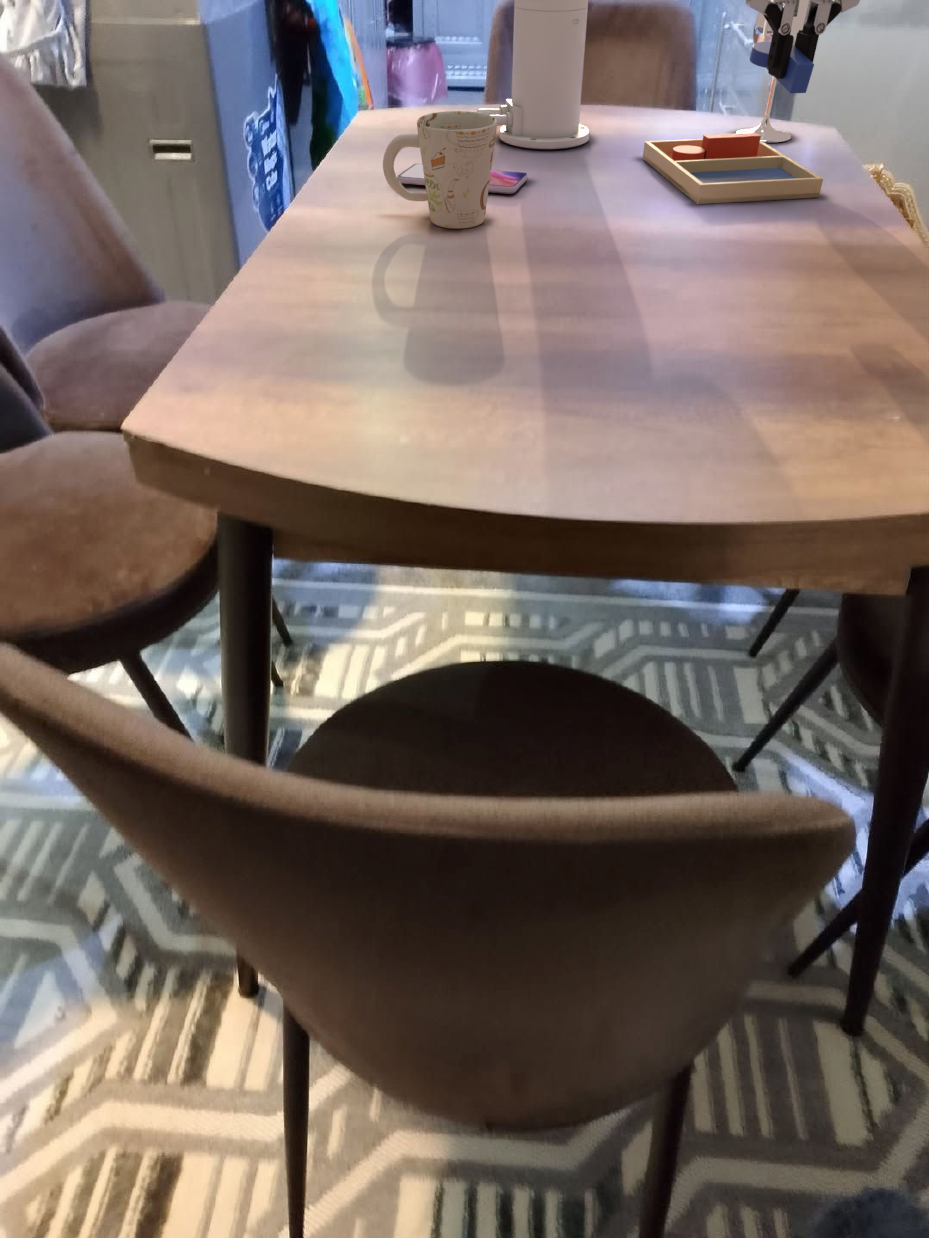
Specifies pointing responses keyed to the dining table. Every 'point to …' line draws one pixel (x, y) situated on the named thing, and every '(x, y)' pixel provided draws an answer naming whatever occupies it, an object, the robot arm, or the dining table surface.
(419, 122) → the mug
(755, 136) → the rust-red brick
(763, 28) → the wineglass
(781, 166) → the tray
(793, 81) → the blue foam brick
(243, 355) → the dining table surface
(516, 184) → the smartphone
